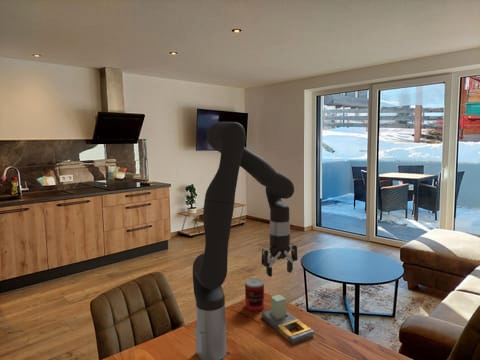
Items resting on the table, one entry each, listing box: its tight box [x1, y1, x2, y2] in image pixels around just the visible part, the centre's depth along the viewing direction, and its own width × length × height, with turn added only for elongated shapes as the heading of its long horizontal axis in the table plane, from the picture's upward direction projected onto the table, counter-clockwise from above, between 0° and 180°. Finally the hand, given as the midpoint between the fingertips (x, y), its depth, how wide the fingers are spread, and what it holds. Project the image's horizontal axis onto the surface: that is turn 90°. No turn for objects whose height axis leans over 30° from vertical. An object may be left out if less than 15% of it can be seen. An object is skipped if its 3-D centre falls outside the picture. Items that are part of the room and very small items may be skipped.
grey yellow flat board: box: [261, 309, 314, 345], centre depth 126 cm, size 9×20×2 cm, turn 27°
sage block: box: [270, 294, 287, 320], centre depth 130 cm, size 4×4×9 cm
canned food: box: [244, 277, 265, 313], centre depth 140 cm, size 8×8×11 cm
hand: (279, 273), depth 128 cm, fingers open, 8 cm apart
